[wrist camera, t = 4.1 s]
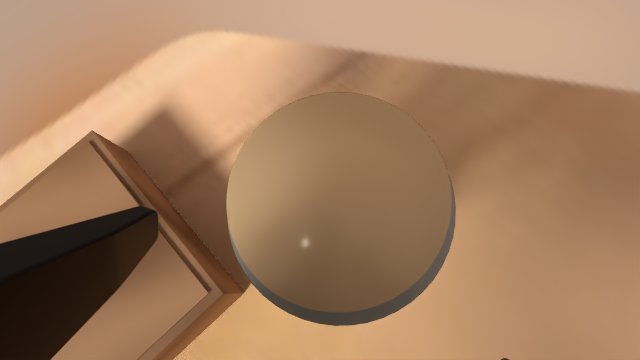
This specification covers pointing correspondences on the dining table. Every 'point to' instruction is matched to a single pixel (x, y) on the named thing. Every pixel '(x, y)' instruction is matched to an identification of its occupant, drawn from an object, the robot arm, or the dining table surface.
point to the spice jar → (340, 209)
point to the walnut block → (150, 274)
